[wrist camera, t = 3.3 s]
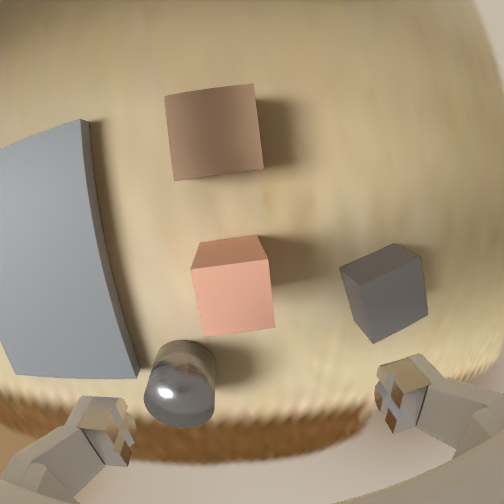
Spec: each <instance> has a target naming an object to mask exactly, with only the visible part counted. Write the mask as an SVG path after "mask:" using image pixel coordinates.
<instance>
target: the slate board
mask: <svg viewBox="0 0 504 504" xmlns="http://www.w3.org/2000/svg"><path fill="white" fill-rule="evenodd" d="M0 341H1V344H2V346H3V348H4V350H5V353H6V355H7V357H8V359H9V361H10V363H11V365H12V368H13V370H14V372H15V374H16V375H27V376H39V377H53V378H75V379H137V376H138V373H139V371H140V366H139V363H138V360H137V357H136V354H135V351H134V348H133V345H132V342H131V339H130V336H129V332H128V329H127V326H126V323H125V319H124V316H123V312H122V309H121V305H120V302H119V298H118V294H117V290H116V286H115V282H114V278H113V274H112V270H111V266H110V261H109V257H108V252H107V248H106V243H105V238H104V233H103V228H102V222H101V217H100V211H99V205H98V199H97V192H96V185H95V178H94V170H93V162H92V152H91V142H90V130H89V122H88V121H85V120H82V119H79V120H76V121H73V122H69V123H66V124H63V125H60V126H58V127H55V128H52V129H49V130H46V131H44V132H41V133H38V134H36V135H33V136H30V137H28V138H25V139H23V140H21V141H18V142H16V143H13V144H11V145H9V146H6V147H4V148H2V149H0Z"/></svg>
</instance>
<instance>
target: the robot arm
mask: <svg viewBox="0 0 504 504" xmlns="http://www.w3.org/2000/svg"><path fill="white" fill-rule="evenodd" d="M377 377H378V378H379V380H380V381H379V382H378V383H377V385H376V386H375V393H374V394H375V401H376V404H377V407H378V409H379V411H380V412H382V413H384V414H386V415H387V416H386V420H385V421H386V423H387V424H388V426H389V428H390V429H391V431H392V433H393V434H395V433H398V432H401V431H404V430H407V429H410V428H413V427H416V428H418V429H420V430H421V431H423V432H425V433H427V434H429V435H431V436H432V437H434V438H436V439H438V440H440V441H442V442H444V443H446V444H447V445H449V446H451V447H453V448H455V449H457V450H456V452H455V454H454V456H453V458H452V459H451V460H450V461H448V462H446V463H444V464H442V465H440V466H438V467H436V468H434V469H431V470H429V471H427V472H425V473H423V474H420V475H418V476H416V477H413V478H411V479H408V480H406V481H403V482H401V483H398V484H395V485H393V486H390V487H387V488H384V489H381V490H378V491H376V492H372V493H369V494H366V495H363V496H359V497H356V498H353V499H349V500H345V501H341V502H337V503H333V504H504V393H500V392H497V391H493V390H489V389H486V388H482V387H479V386H475V385H472V384H469V383H465V382H462V381H459V380H455V379H452V378H446V379H445V378H444V377H443V376H442V375H441V374H440V373H439V372H438V371H437V369H436V368H435V367H434V366H433V365H432V364H431V363H430V362H429V361H428V360H427V359H426V358H425V357H424V356H423V355H422V354H416V355H413V356H410V357H407V358H404V359H401V360H398V361H394V362H391V363H388V364H384V365H380V366H379V368H378V371H377ZM127 408H128V406H127V405H126V403H125V401H124V399H122V398H112V397H96V396H95V397H92V396H82V397H80V398H79V400H78V402H77V403H76V405H75V407H74V409H73V411H72V412H71V414H70V416H69V418H68V420H67V421H66V423H65V425H64V426H59V427H58V428H56V429H55V430H53V431H51V432H50V433H48V434H46V435H45V436H43V437H42V438H40V439H38V440H37V441H35V442H33V443H32V444H30V445H28V446H27V447H26V448H23V449H22V450H20V451H19V452H17V453H15V454H14V455H13V456H12V458H11V459H10V461H9V463H8V465H7V466H6V468H5V470H4V472H3V474H2V475H1V477H0V504H80V503H79V502H77V500H76V499H75V498H74V496H75V495H76V494H77V493H78V492H79V491H80V490H81V489H82V488H83V487H84V486H85V485H87V484H88V483H89V482H90V481H91V480H92V479H93V478H94V477H95V476H96V475H97V474H98V473H99V472H100V471H101V470H102V469H103V468H104V467H105V465H110V466H111V465H112V466H123V467H128V464H129V461H130V457H131V454H132V451H131V450H130V448H129V447H130V446H131V445H132V444H133V443H135V439H136V425H135V421H134V419H133V417H132V416H131V415H130V414H128V413H127V412H126V410H127Z"/></svg>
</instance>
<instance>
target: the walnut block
mask: <svg viewBox="0 0 504 504" xmlns="http://www.w3.org/2000/svg"><path fill="white" fill-rule="evenodd" d="M165 106H166V116H167V126H168V135H169V144H170V153H171V161H172V168H173V176H174V181H180V180H186V179H192V178H199V177H206V176H213V175H220V174H228V173H236V172H244V171H252V170H261V169H264V165H263V157H262V148H261V140H260V132H259V124H258V116H257V108H256V100H255V92H254V84H247V85H236V86H227V87H219V88H211V89H204V90H197V91H191V92H184V93H179V94H173V95H168V96H165Z"/></svg>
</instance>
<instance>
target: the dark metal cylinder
mask: <svg viewBox="0 0 504 504" xmlns="http://www.w3.org/2000/svg"><path fill="white" fill-rule="evenodd" d="M214 401H215V361H214V358H213V356H212V355H211V353H210V352H209V351H208V350H207V349H206V348H205V347H203V346H202V345H200V344H198V343H196V342H193V341H188V340H176V341H172V342H169V343H167V344H165V345H164V346H163V347H161V349H160V350H159V351H158V353H157V356H156V359H155V362H154V365H153V368H152V371H151V374H150V377H149V381H148V384H147V387H146V390H145V393H144V403H145V406H146V408H147V410H148V411H149V413H150V414H151V415H152V416H153V417H155V418H156V419H157V420H159V421H161V422H162V423H165V424H167V425H170V426H173V427H179V428H191V427H196V426H199V425H201V424H203V423H205V422H207V421H208V420H209V419H210V418H211V416H212V415H213V412H214Z"/></svg>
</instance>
